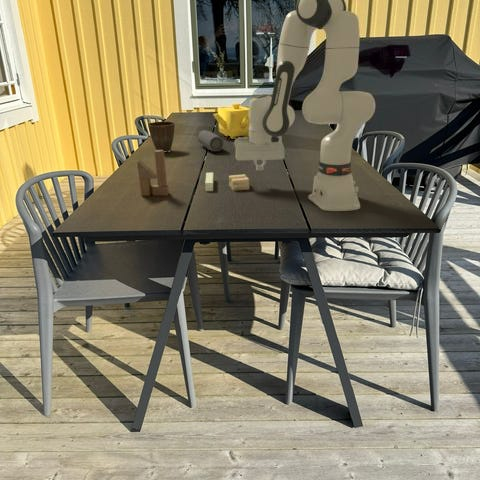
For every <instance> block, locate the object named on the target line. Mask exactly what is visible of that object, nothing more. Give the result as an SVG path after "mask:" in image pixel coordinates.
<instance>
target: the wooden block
mask: <svg viewBox="0 0 480 480" xmlns="http://www.w3.org/2000/svg"><path fill="white" fill-rule="evenodd" d="M154 158H155V169H156V172H155V171H153V170H152V168H150V167H149V166H148V165H147V164H146V163H144V161H142V160H141V159H138V160H137V170H138V171H137V172H138V179H139V187H140V195H141V196H143V197H145V196H146V197H149V196H151V195H152V196H163V197H164V196H166V197H167V196H168V195H169V192H170V188H169V185H168V181H167V171H166V161H165V159H166V158H165V153H164V151H163V150H156V149H155V150H154ZM154 179H156V180H157V184H151V183H152V182H151V180H154Z"/></svg>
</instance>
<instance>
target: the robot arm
mask: <svg viewBox="0 0 480 480" xmlns="http://www.w3.org/2000/svg"><path fill="white" fill-rule="evenodd" d="M316 30H324V32H325V39H326V40H325V54H324V56H325V57H324V67H323V72H322V76H321V79H320V80H319V82H318V84H317V86H316V88H314V90H312V91H311V93H309V94H308V95H307V96H306V97H305V99H304V100H303V103H302V105H301V106H302V107H301V113H302V115H303V118H304V120H305V121H306V122H307V123H310V124H316V125H332V124H333V125H335V124H337V125H336V128H335V129H334V130H333V131H332V132H330V133H328V134H327V135H325V136H324V137H323V138H322V140H321V142H320V154H319V156H320V157H319V161H318V165H317V168H318V170H317V174H316V175H314V177H313V183H312V185H313V186H312V193H310V194H308V197H307V199H308V200H310V201H311V202H312V203H314V204H315V205H316V206H317V207H318V208H320V209H321V210H322V211H328V212H348V211H356V210H359V209H361V203H360V201H359V197H358V193H359V186H355V185H356V180H354V178H353V174H352V162H351V158H352V157H351V155H352V148H353V142H354V139H355V137H356V135H357V133H358V131H359V130H360V129H361V127H362V126H363V125H365V123H367V122H368V121H369V120H370V119H371V118H372V117H373V115H374V114H375V111H376V101H375V98H374V96H373V95H372V94H371V93H369V92H365V91H361V90H350V91H349V90H347V91H345V90H344V91H343V90H342V91H340V87H341V86H342V84H343V83H345V82H346V81H348V80H350V79H352V78H353V77H354V76H355V75H356V73H357V71H358V68H359V55H360V23H359V17H358V16H357V14H356V13H354V12H353V11H349V10H347V4H346V1H345V0H297V1H296V6H295V10H292V11H290V12H289V13H288V14H286V16H285V18H284V21H283V24H282V28H281V30H280V31H281V33H280V36H279V42H278V48H277V59H276V71H275V80H274V86H273V90H272V94H271V95H272V96H270V95H269V94H259V95H256V96H253V97H252V98H251V99H250V100H249V105H248V108H249V121H250V126H249V137H244V136H237V137H236V139H235V140H233V141H234V142H233V145H234V148H235V159H236V160H237V161H253V164H254V166H255V167H256V168H255V169H256V171H264V166H265V165H266V163H267V160H268V161H269V160H271V161H272V160H273V161H275V160H284V159H285V146H284V144H283V141H282V139H283V138H282V136H284V135H285V134H286V133H287V132H288V130H289V128H290V127H291V126H292V125H293V123H294V122H295V119H296V111H295V110H294V108H293V107H292V106H291V105H290V104H289V102H290V98H291V93H292V89H293V88H292V87H293V85H294V82H295V81H296V78H297V76H298V75H299V74H300V72H301V71H302V70H303V68H304V66H305V64H306V62H307V59H308V54H309V51H310V46H311V40H312V36H313V33H314V32H315V31H316ZM258 161H262V164H258Z"/></svg>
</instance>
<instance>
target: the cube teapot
mask: <svg viewBox="0 0 480 480" xmlns="http://www.w3.org/2000/svg"><path fill="white" fill-rule="evenodd" d="M212 115H213V117H214V118H215V119H216V121H217V122H218V132H219V133H220V134H222V135H225V136H230V137H229V139H230V138H231V139H237V137H249V126H250V121H249V107H247V106H243V105H240V103H232V106H228V107H226V106H225V107H218V108H217V112H216V113H213V114H212Z"/></svg>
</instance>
